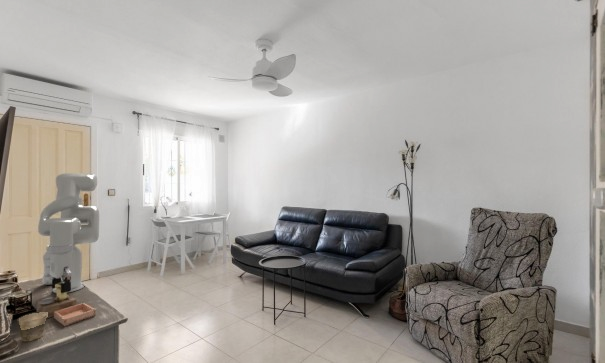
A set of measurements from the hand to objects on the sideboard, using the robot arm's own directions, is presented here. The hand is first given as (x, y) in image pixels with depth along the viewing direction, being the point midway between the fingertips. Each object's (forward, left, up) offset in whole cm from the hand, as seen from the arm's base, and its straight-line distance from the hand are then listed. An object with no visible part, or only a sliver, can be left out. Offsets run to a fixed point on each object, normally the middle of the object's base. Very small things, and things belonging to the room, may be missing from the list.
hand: (61, 289), depth 119 cm
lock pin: (-1, 0, -9) cm, 9 cm away
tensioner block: (-1, -1, -9) cm, 9 cm away
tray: (+12, +1, -9) cm, 15 cm away
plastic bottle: (-40, +8, -9) cm, 41 cm away
